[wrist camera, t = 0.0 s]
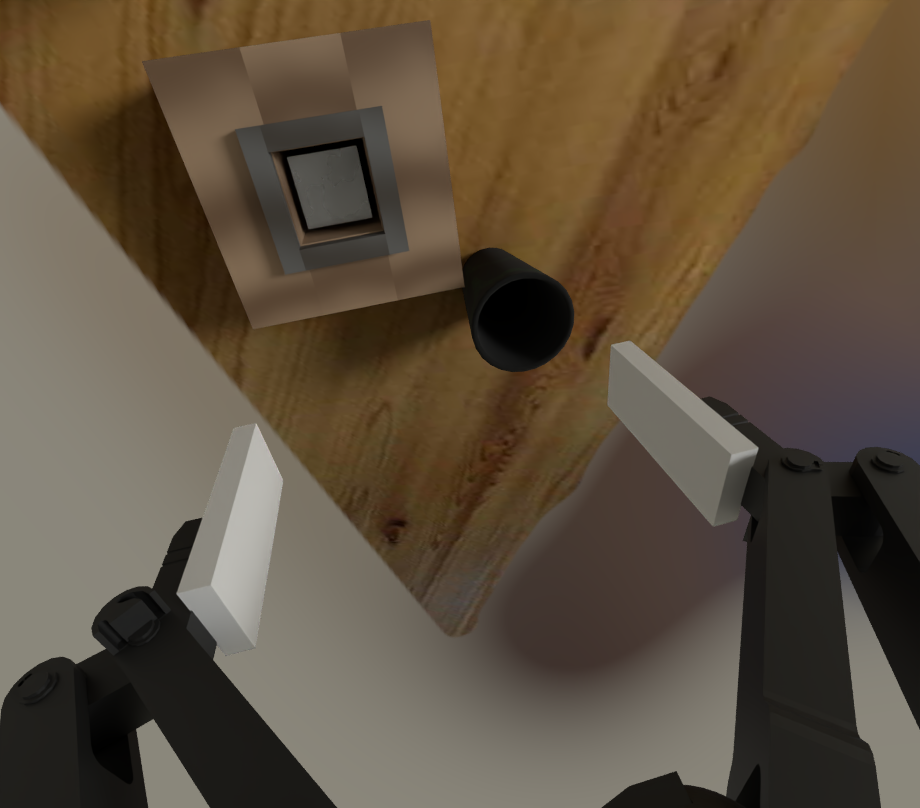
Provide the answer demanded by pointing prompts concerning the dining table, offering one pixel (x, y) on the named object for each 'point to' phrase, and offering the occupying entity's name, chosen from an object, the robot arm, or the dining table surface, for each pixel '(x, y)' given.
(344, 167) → the grey square plate
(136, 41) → the dining table surface
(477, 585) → the dining table surface
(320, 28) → the dining table surface
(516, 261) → the cup
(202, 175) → the socket block
